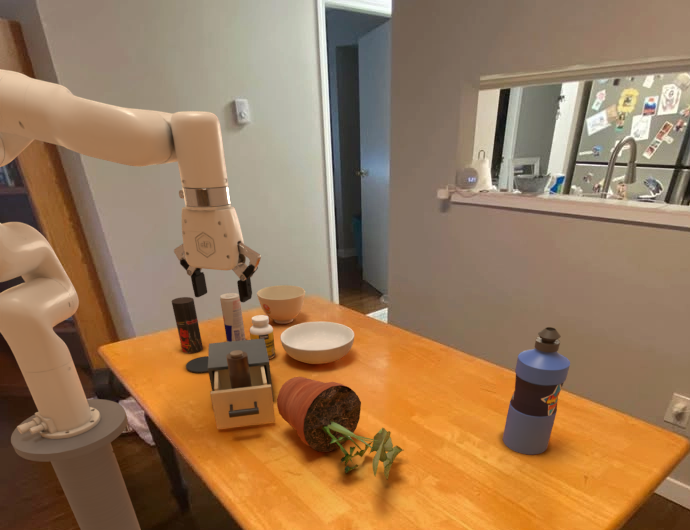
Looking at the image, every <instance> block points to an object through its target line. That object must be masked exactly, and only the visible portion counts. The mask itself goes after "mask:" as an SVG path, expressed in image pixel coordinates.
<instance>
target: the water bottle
mask: <svg viewBox="0 0 690 530" xmlns="http://www.w3.org/2000/svg"><path fill="white" fill-rule="evenodd" d="M537 335H538V337H536V339H535V343H534V348H533V349H532V348H531V349H526V350H522V351H521V352H519V354H517V359H516V363H515V369H514V372H515V381H514V390H513V393H512V395H511V398H510V401H509V405H508V410H507V414H506V418H505V425H504V429H503V435H502V442H503V444H504V445H505V446H506V447H507V448H508V449H510V450H512V451H513V452H516V453H518V454H522V455H530V456H532V455H533V456H534V455H540V454H542V453H544V452H545V451H547V449H548V446H549V443H550V438H551V435H552V431H553V427H554V425H555V424H554V423H555V419H556V416H557V412H558V402H559V401H558V400H559V395H560V393H561V390H562V388H563V386H564V383H565V382H566V380H567V379H568V378H567V377H568V374H569V370H570V366H571V361H570V359H569V358H568V357H566V356H564V355H563V354H561V353H559V352H558V351H559V349H560V345H561V341H560V340H559V339H560V338H561V334H560V333H559V331H558V330H557V329H556V328H555V327H551V326H548V327H545V328H543V329H542V330H540V331H539V332H538V333H537Z"/></svg>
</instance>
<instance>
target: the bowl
mask: <svg viewBox="0 0 690 530" xmlns="http://www.w3.org/2000/svg"><path fill="white" fill-rule="evenodd" d="M256 295H257V299H258V301H259V305H260V307H261V310H262V312H263V313H264V315H266V316H268V317H269V318H270V319H272V320H273V322H274V323H276V324H278V325H280V324H281V325H286V324H291V323H292V322H293V321H294V319H295V318H296V317H297V316H298V315H299V314H300V313H301V312H302V310H303V307H304V303H305V296H306V290H305V289H304V288H303V287H301V286H297V285H289V284H282V285H281V284H280V285H272V286H266V287H263V288H261V289H259V290H258V291H256Z"/></svg>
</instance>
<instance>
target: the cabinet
mask: <svg viewBox="0 0 690 530" xmlns="http://www.w3.org/2000/svg"><path fill="white" fill-rule="evenodd" d="M235 350H240V351H243V352H246V353H247V355H248V362H249V367H253V366H263V365H264V369H265V375H266V380H267V385H270V384H271V389H272V397H273V398H274V391H273V384H272V375H271V365H270V359H269V358H268V354H267V349H266V345H265V340H264V338H263V339H252V340H251V339H246V340H241V341H231V342H227V341H221V342H211V343H208V355H207V356H208V372H209V373H208V377H209V384H210V387H211V391H215V390H214V378H215V371H216V370H225V369H228V364H227V358H226V355H227V354H229V353H231V352H232V351H235ZM273 403H274V399H273Z"/></svg>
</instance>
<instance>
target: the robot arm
mask: <svg viewBox="0 0 690 530" xmlns="http://www.w3.org/2000/svg"><path fill="white" fill-rule="evenodd" d="M222 133H223V132H222V127H221V122H220V119H219V117H218V116H217V115H216V114H215V113H214V112H210V111H204V110H203V111H202V110H201V111H199V110H198V111H197V110H181V111H180V110H179V111H175V112H174V113H172V112H166V111H161V110H152V109H144V108H142V109H141V108H130V107H124V106H118V105H113V104H110V103H104V102H101V101H96V100H92V99H88V98H84V97H80V96H78V95H74V94H73V93H72V91H71V90H70V89H69V88H68V87H66V86H64V85H62V84H59V83H56V82H55V83H54V82H50V81H45V80H43V79H36V78H33V77H30V76H28V75H26V74H24V73H21V72H18V71H14V70H8V69H1V68H0V168H2V167H5V166H7V165H8V164H10V163H12V161H14V160H15V159H16V158H17V157H18V156H20V154H21V153H23V152H24V151H25V149H26V148H27V147H29V146H30V145H31V144H32V143H33V142H34V141H35V140H36V141H40V142H44V143H49V144H52V145H56V146H61V147H64V148H65V149H67V150H68V151H69V150H70V151H72V152H75V153H78V154H80V155H83V156H87V157H90V158H94V159H99V160H102V161H106V162H111V163H116V164H120V165H124V166H129V167H140V168H141V167H148V166H153V165H154V166H155V165H157V166H158V165H164V164H165V165H166V164H171V163H177V167H178V172H179V178H180V183H181V189H179V190H178V196H179V198H180V199H183V200H184V204H185V205H184V206H183V207H181V235H182V243H181V244H179V246H177V247H175V248H174V249H173V253H174V254H175V256H176V258H177V259H178V261H179V264H180V266H182V268H183V269H184V270H185V271H186V274H187V275H188V276H189V277H190V280H191V286H192V290H193V294H194V298H200V297H202V296H204V295H207V294H208V288H207V281H206V275H205V273H204V271H202V270H203V269H205V270H216V271H231V270H232V271H233V272H234V274H235V275H236V277H238V278H239V279H238V280H237V281H236V282H237V283H236V284H237V289H238V294H239V298H240V303H246V302H247V301H249V300H251V299H252V295H253V289H252V288H253V287H252V279H251V278H252V277H253V276H254V275H255V273H256V271H257V270H258V269H259V264H260V262H261V258H262V255H261V254H260V253H258V252H257V251H255V250H254V249H252V248H251V247H250V246H247V245H246V244H245V242H244V236H243V231H242V227H241V223H240V220H239V217H238V213H237V211H236V208H235V206H232V199H231V192H230V186H229V178H228V170H227V164H226V156H225V155H226V154H225V148H224V141H223V134H222ZM247 258H248V260H249V263H248V265H247V264H246V261H247ZM19 277H21V278H22V279H23V281H24V282H22V283H20V284H17V285H14V286H12V287H10V288H7V289H5V290H3V291H2V292H0V334H1V335H2V337H3V338H4V340H5V341H6V343H7V345H8V346H9V348H10V350H11V352H12V354H13V356H14V359H15V360H16V363H17V365H18V367H19V369H20V371H21V374H22V376H23V379H24V381H25V383H26V386H27V388H28V391H29V392H30V395H31V397H32V400H33V402H34V404H35V407H36V409H37V411H36V412H34V415H36V418H33V419H32V421H30V422H28V423H24V424H22V425H20V424H18V425H17V426H16V428H17V429H18V430H19V432H20V433H21V434H24V433H26V432H29V431H30V432H31V434H35V433H37V432H39V434H40V435H41V436H42V437H44V438H48V439H64V438H70V437H73V436H77V435H80V434H82V433H85V432H87V431H89V430H90V429H92V428H93V427H95V426H96V425H97V424H98V423H99V421H100V419H101V416H100V413H99V411H98V410H97V409H95V408H92V407H89V404H88V402H87V399H88V398H87V396H86V393H85V391H84V388H83V385H82V382H81V380H80V377H79V374H78V372H77V368H76V366H75V363H74V360H73V358H72V354H71V352H70V349H69V347H68V345H67V344H66V343H65V341H64V340H63V339H62V338H61V337H60V336H59V335H58V334H57V333H56V332H55V330H54V327H56V326H57V325H58V324H60V323H62V322H64V321H66V320H67V319H69V318H71V317H72V316H74V315H75V314H76V312H77V311H78V310H79V309H78V308H79V305H80V300H79V295H78V293H77V291H76V288H75V286H74V284H73V283H72V280H71V279H70V277H69V275H68V274H67V272H66V270H65V268H64V266H63V265H62V262H61V260H59V257H58V256H57V253H56V252H55V250H54V249H53V247H52V245H51V244H50V242H49V241H48V240H47V238H45V236H44V235H43V234H42V233H41V232H39V230H37V229H36V228H35V227H33V226H31V225H29V224H28V223H24V222H21V221H8V222H3V223H2V222H0V283H3V282H7V281H10V280H14V279H15V278H19Z"/></svg>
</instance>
